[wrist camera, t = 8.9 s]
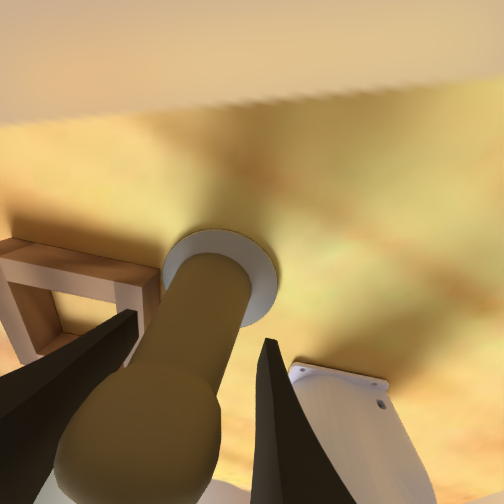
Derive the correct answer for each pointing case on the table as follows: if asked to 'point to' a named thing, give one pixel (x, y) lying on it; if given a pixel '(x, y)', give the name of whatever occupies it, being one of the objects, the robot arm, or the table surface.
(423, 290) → the table surface
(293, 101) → the table surface
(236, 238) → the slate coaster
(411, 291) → the table surface
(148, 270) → the walnut holder
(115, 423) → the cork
